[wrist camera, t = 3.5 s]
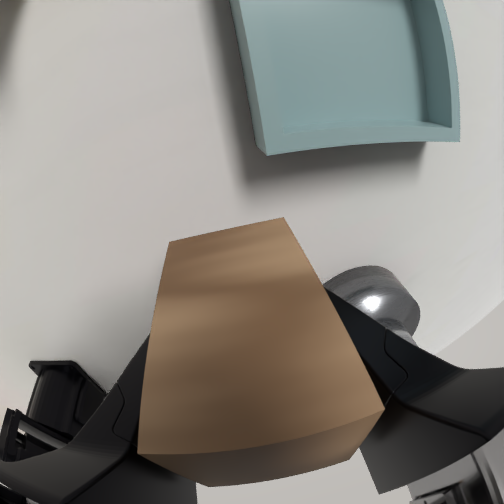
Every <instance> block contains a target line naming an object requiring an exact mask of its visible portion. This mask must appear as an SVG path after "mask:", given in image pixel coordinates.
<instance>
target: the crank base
mask: <svg viewBox="0 0 504 504" xmlns="http://www.w3.org/2000/svg"><path fill="white" fill-rule="evenodd" d="M323 286H324V287H326V288H327V289H329V290H330V291H332V292H333V293H335V294H336V295H338V296H339V297H341V298H343V299H344V300H346V301H347V302H349V303H350V304H352V305H353V306H355V307H356V308H358V309H359V310H361V311H362V312H364V313H365V314H367V315H368V316H370V317H371V318H373V319H374V320H376V321H377V322H378V321H382V320H386V319H396V320H399V321H401V322H402V324H403V325H404V326H405V328H406V329H407V331H408V332H409V334H410V335H411V337H412V336H413V334H414V332H415V330H416V328H417V326H418V323H419V320H420V308H419V306H418V304H417V302H416V301H415V300H414V299H413V297H412V296H411V295H410V294H409V292H408V291H407V290H406V289H405V288H404V286H403V285H402V284H401V283H400V282H399V280H398V279H397V278H396V277H395V276H394V275H393V273H392V272H390V271H389V270H387V269H385V268H383V267H379V266H362V267H357V268H354V269H351V270H348V271H345V272H343V273H341V274H339V275H337V276H335V277H334V278H332V279H331V280H329V281H327V282H326V283H325V284H324V285H323Z"/></svg>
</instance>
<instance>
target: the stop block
mask: <svg viewBox="0 0 504 504" xmlns="http://www.w3.org/2000/svg"><path fill="white" fill-rule="evenodd" d="M384 410H385V408H384V406H383V404H382V401H381V399H380V397H379V395H378V393H377V391H376V389H375V387H374V384H373V382H372V380H371V378H370V376H369V374H368V372H367V370H366V368H365V366H364V364H363V362H362V360H361V358H360V356H359V354H358V352H357V350H356V348H355V346H354V344H353V342H352V340H351V338H350V336H349V334H348V332H347V330H346V328H345V326H344V324H343V323H342V321H341V319H340V317H339V315H338V313H337V311H336V309H335V307H334V306H333V304H332V302H331V300H330V298H329V296H328V294H327V293H326V291H325V289H324V287H323V285H322V284H321V282H320V280H319V278H318V276H317V274H316V273H315V271H314V269H313V267H312V266H311V264H310V262H309V260H308V258H307V257H306V255H305V253H304V251H303V250H302V248H301V246H300V245H299V243H298V241H297V239H296V238H295V236H294V234H293V233H292V231H291V229H290V227H289V226H288V224H287V222H286V221H285V219H284V217H283V218H278V219H273V220H268V221H263V222H258V223H253V224H249V225H244V226H239V227H234V228H230V229H225V230H220V231H216V232H211V233H207V234H202V235H198V236H193V237H189V238H185V239H180V240H176V241H172V242H169V245H168V250H167V254H166V258H165V262H164V267H163V271H162V276H161V280H160V285H159V290H158V294H157V299H156V305H155V310H154V315H153V321H152V326H151V332H150V338H149V344H148V351H147V358H146V365H145V372H144V380H143V388H142V398H141V408H140V419H139V432H138V450H137V454H139V455H141V456H143V457H145V458H146V459H148V460H150V461H152V462H154V463H156V464H158V465H160V466H162V467H164V468H166V469H168V470H170V471H172V472H174V473H176V474H178V475H181V476H183V477H185V478H187V479H190V480H192V481H195V482H197V483H200V484H202V485H205V486H208V487H216V486H230V485H240V484H248V483H256V482H263V481H269V480H274V479H280V478H285V477H289V476H293V475H298V474H303V473H306V472H310V471H314V470H318V469H321V468H325V467H328V466H331V465H335V464H338V463H341V462H344V461H347V460H349V459H350V458H351V457H352V455H353V454H354V453H355V452H356V450H357V449H358V448H359V446H360V445H361V444H362V442H363V441H364V439H365V438H366V437H367V435H368V434H369V432H370V431H371V430H372V428H373V427H374V425H375V424H376V422H377V421H378V419H379V418H380V416H381V414H382V413H383V411H384Z"/></svg>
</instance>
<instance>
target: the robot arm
mask: <svg viewBox="0 0 504 504" xmlns="http://www.w3.org/2000/svg"><path fill="white" fill-rule="evenodd" d="M323 287H324V286H323ZM324 289H325V291H326V293H327V294H328V296H329V298H330V300H331V302H332V304H333V306H334V307H335V309H336V311H337V313H338V315H339V317H340V319H341V321H342V323H343V324H344V326H345V328H346V330H347V332H348V334H349V336H350V338H351V340H352V342H353V344H354V346H355V348H356V350H357V352H358V354H359V356H360V358H361V360H362V362H363V364H364V366H365V368H366V370H367V372H368V374H369V376H370V378H371V380H372V382H373V384H374V387H375V389H376V391H377V393H378V395H379V397H380V399H381V401H382V404H383V406H384V408H385V410H384V411H383V413H382V414H381V416H380V418H379V419H378V421H377V422H376V424H375V425H374V427H373V428H372V430H371V431H370V432H369V434H368V435H367V437H366V438H365V439H364V441H363V442H362V444H361V445H360V446H359V448H360V450H361V453H362V455H363V457H364V460H365V462H366V464H367V467H368V469H369V472H370V474H371V476H372V479H373V481H374V484H375V486H376V489H377V491H378V493H379V494H382V493H385V492H388V491H391V490H394V489H397V488H399V487H402V486H405V485H407V486H408V488H409V491H410V494H411V497H412V499H413V500H412V501H410V504H504V367H502V368H489V369H464V368H460V367H457V366H454V365H452V364H450V363H448V362H446V361H444V360H442V359H440V358H438V357H436V356H434V355H432V354H430V353H429V352H427V351H425V350H423V349H421V348H419V347H417V346H415V345H414V344H412V343H410V342H408V341H407V340H405V339H403V338H402V337H400V336H399V335H397V334H396V333H394V332H393V331H391V330H390V329H388V328H387V329H386V327H385V326H383V325H382V324H380V323H379V322H377V321H376V320H374V319H373V318H371V317H370V316H368V315H367V314H365V313H364V312H362V311H361V310H359V309H358V308H356V307H355V306H353V305H352V304H350V303H349V302H347V301H346V300H344V299H343V298H341V297H339V296H338V295H336V294H335V293H333V292H332V291H330V290H329V289H327V288H326V287H324ZM149 338H150V334H149V335H148V337H147V338H146V340H145V341H144V343H143V344H142V345H141V347H140V348H139V350H138V351H137V353H136V354H135V355H134V357H133V358H132V360H131V361H130V363H129V364H128V366H127V367H126V369H125V370H124V372H123V373H122V374H121V376H120V377H119V379H118V380H117V383H115V385H114V386H113V388H112V389H111V391H110V392H109V394H108V395H106V394H105V393H104V392H103V391H102V390H101V389H100V388H99V387H98V386H97V385H96V384H95V383H94V382H93V381H92V380H91V379H90V378H89V377H88V376H87V375H86V374H85V373H84V372H83V371H82V370H81V368H80V367H79V366H78V365H77V364H76V363H74V362H72V361H30V363H29V367H30V368H31V369H32V370H33V371H34V372H35V373H36V374H37V375H38V377H37V380H36V383H35V386H34V389H33V392H32V395H31V399H30V402H29V405H28V409H27V412H26V415H24V414H23V413H22V412H21V411H19V410H18V409H16V410H15V411H14V410H11V409H9V408H7V411H6V414H5V418H4V421H3V425H2V429H1V433H0V482H1V483H2V484H4V485H6V486H7V487H8V488H7V487H5V486H3V485H1V484H0V504H197V493H196V482H195V481H192V480H190V479H187V478H185V477H183V476H181V475H178V474H176V473H174V472H172V471H170V470H168V469H166V468H164V467H162V466H160V465H158V464H156V463H154V462H152V461H150V460H148V459H146V458H145V457H143V456H141V455H139V454H137V450H138V432H139V419H140V408H141V398H142V388H143V380H144V372H145V365H146V358H147V351H148V344H149ZM18 428H19V429H21V430H23V431H24V432H26V433H25V434H24V435H23V434H21V433H20V432H18Z"/></svg>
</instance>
